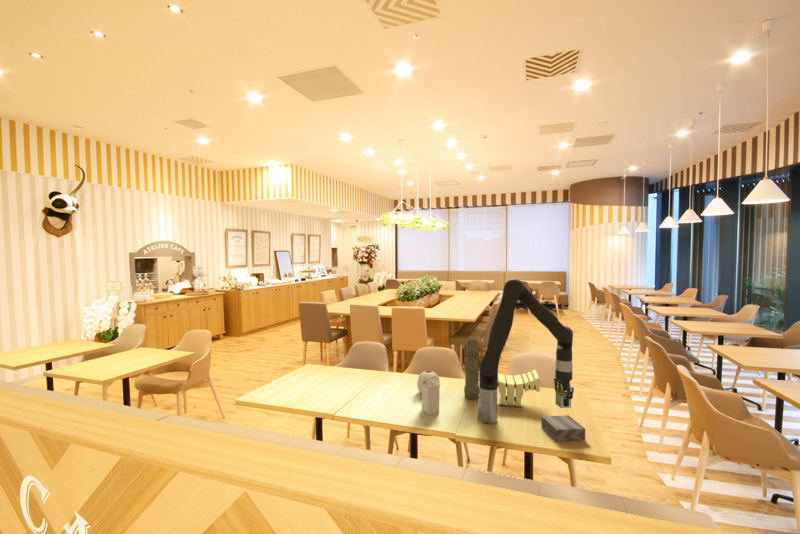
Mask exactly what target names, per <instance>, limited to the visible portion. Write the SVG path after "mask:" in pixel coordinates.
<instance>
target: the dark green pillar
mask: <svg viewBox="0 0 800 534" xmlns="http://www.w3.org/2000/svg"><path fill="white" fill-rule="evenodd" d="M465 352H466V353H465ZM461 353H462V355H461V356H462V361H461V362H462V364H464V369H465V370H464V371H465V372H464V373H465V374H464V376H465V379H464V380H465V383H464V388H463V391H464V392H463V393H464V396H465V397H464V398H465V399H466V398H467V400H471V401H475V400H476V399H477V400H479V399H478V398H479V379H480V367H479V365H480V360H481V358H482V357H483V348H482V347H480V343H479V340H478V339H476V338H468V339H466V343H465V346H463V347H462V349H461ZM479 353H480V355H479Z"/></svg>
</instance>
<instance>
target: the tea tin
mask: <svg viewBox="0 0 800 534" xmlns="http://www.w3.org/2000/svg"><path fill="white" fill-rule="evenodd" d="M564 392H567V391H564ZM554 402H555V405H556V406H557V407H559V408H560V409H571V408H572V399H569V406H568V407H565V406H564V394H563V393H562V390H560V391H555V401H554Z"/></svg>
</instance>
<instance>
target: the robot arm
mask: <svg viewBox="0 0 800 534" xmlns="http://www.w3.org/2000/svg"><path fill="white" fill-rule="evenodd" d="M518 301H519V302H520V303H522V304H523V305H524V306H525V307H526V308H527V309H528V310H529V311H530V313H531V314H532V315H533V316H534V318H535V319H536V320H538V322H540V323H541V324H542V325H543V326H544V327H545V328H546V329H547V330H548V331H549V333H551V335H552V336H553V337H554V338H555V339H556V343H557V346H556V351H555V363H554V364H555V366H554V367H555V368H554V372H555V373H554V377H555V378H553V383H554V390H555V391H560V390H562V393H563V394H564V406H565V407H568V406H569V399H571V400H573V397H574V391H575V389H574V387H573V386H571V381H572V380H573V370H574V369H573V366H574V365H573V341H574V340H573V339H574V332H573V330H572V329H571V328H570V327H569V326H567V325H564V324H562V323H561V322H560V320H559V318H558V317H557V316H556V315H555V314H554V313H553V312H552V311H551V310H549V309H548V308H547V307H546V306H545V305H544V304H543V303H541V302H540V301H539V300H538V299H537V298H536V297H535V296H534V295H533V294H532V293H531V292H530V291H529V290H528V288H527V287H526V286H525V284H524V283H523V281H522V280H520V279H519V278H511V279H509V280H507V281H506V282H505V283H504V287H503V291H502V296H501V300H500V304H499V306H498V308H497V311H496V312H495V313H496V314H495V315H494V319H493V321H492V324H491V327H490V331H489V337H488V341H487V347H486V350H485V353H484V355H482V358H481V357H480V365H479V367H480V369H479V399H477V418H478V420H479V422H480V423H482V424H489V425H490V424H495V423H497V422H498V397H497V396H498V394H499V389H498V373H499V365H500V360H501V356H502V352H503V350H504V348H505V346H506V344H507V342H508V338H509V336H510V333H511V330H512V327H513V322H514V316H515V309H516V306H517V304H518ZM564 391H567V392H564Z"/></svg>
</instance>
